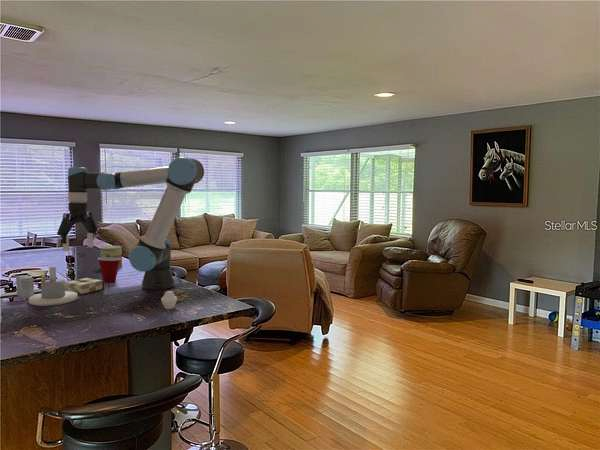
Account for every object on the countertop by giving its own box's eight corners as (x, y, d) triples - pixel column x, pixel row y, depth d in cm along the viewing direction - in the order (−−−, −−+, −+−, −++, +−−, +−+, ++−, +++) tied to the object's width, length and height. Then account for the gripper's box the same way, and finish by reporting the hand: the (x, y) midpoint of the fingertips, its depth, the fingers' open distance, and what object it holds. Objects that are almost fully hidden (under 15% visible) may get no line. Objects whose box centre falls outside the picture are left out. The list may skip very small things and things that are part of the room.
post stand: (74, 292, 199) (73, 261, 198) (80, 301, 185) (79, 268, 183) (27, 297, 189) (25, 265, 188) (30, 308, 175) (28, 272, 173)
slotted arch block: (102, 288, 208) (102, 280, 207) (82, 293, 198) (81, 285, 197) (86, 286, 212) (85, 277, 212) (65, 290, 202) (65, 282, 202)
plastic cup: (126, 280, 224) (125, 257, 223) (106, 284, 215) (106, 260, 214) (112, 278, 230) (112, 255, 229) (93, 281, 221) (92, 258, 220)
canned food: (96, 268, 254) (96, 248, 252) (108, 265, 265) (108, 245, 264) (115, 269, 252) (114, 248, 251) (126, 266, 263) (125, 246, 262)
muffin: (178, 305, 182) (177, 288, 181) (176, 309, 176) (176, 292, 175) (162, 306, 181) (162, 289, 180) (160, 310, 175) (159, 292, 174)
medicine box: (34, 297, 190) (33, 277, 189) (22, 299, 187) (21, 279, 186) (28, 294, 196) (27, 274, 195) (16, 296, 192) (15, 276, 191)
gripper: (93, 200, 212) (93, 244, 214) (47, 202, 189) (48, 251, 191) (105, 201, 209) (105, 246, 211) (60, 203, 186) (61, 253, 188)
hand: (78, 249), depth 201 cm, fingers open, 13 cm apart
